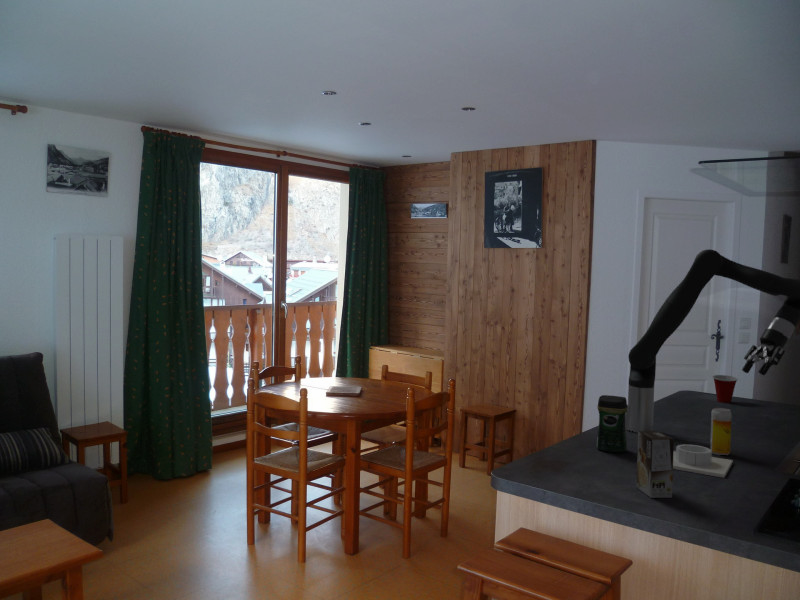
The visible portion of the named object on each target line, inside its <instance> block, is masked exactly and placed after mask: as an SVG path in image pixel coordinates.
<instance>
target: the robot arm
mask: <svg viewBox="0 0 800 600" xmlns="http://www.w3.org/2000/svg"><path fill="white" fill-rule="evenodd" d="M714 276H718V277H723V278H727V279H729V280H732V281H735V282H738V283H740V284H742V285H745V286H747V287H749V288H751V289H754V290H757V291H760V292H763V293H765V294H768V295H771V296H774V297H775V296H776V297H777V296H785V299H784V301H783V303H782V305H781V307H780V308H779V309H778V311H777V312H776V314H775V315H774V317H773V319H772V320H771V321H770V322H769V323H768V324H767V326H766V328H765V329H764V331H763V333H762V334H761V336H760V338H759V341H760V343H759V345H758V346H756V345H755V344H752V346H751V347H750V348H749V350H748V351H747V353H746V354H745V355H744V358H743V360H745V361H746V362H745V364H744V366H743V367H742V369H741V370H742V372H744V373H745V374H749V373H750V372H751V369H752V368H753V366H754V365H755V364H756V363H758V362H761V361H762V360H764V362H763V363H762V365H761V366H760V368H759V370H758V373H759V374H760V375H761V376H765V375H766V374H767V373H768V371H769V370H770V368H771V367H773V366H777V365H779V363H780V360H781V359H782V358H783V356H784V354H785V351H786V350H784V348H785V346H786V344H787V343H788V341H789V340H790V338H791V336H792V334H793V332H794V330H795V328H796V327H797V325H798V323H799V322H800V279H796V278H795V279H794V278H791V277H782V276H781V275H777V274H775V273H771V272H768V271H766V270H763V269H759V268H756V267H752V266H748V265H745V264H741V263H739V262H736V261H734V260H731V259H729V258H727V257H726V256H724V255H721V254H720V253H719V252H718V251H717V250H714V249H709V248H708V249H704V250H702V251H700V252H699V253H697V254H696V256H695V258H694V260H693V263H692V265H691V266H690V268H689V270H688V272H687V273H686V275H685V277H684V278H683V280H681V282H680V283H679V284H678V285H677V286H676V287H675V288H674V289H673V290H672V292H671V293H670V294H669V295H668V297H666V298H665V301H664V302H663V303H662V304H661V306H660V308H659V309H658V311H657V313H656V314H655V316H654V318H653V319H652V322H651V323H650V325H649V327H648V329H646V332H645V333H644V334H643V335H642V337H641V338H640V339H639V340H638V341H637V343H636V344H635V345H634V346H633V347H632V348H630V351H629V353H628V355H627V358H628V362H629V366H630V367H629V376H628V388H627V389H628V391H627V392H628V393H627V394H628V395H627V412H626V414H625V431H629V430H630V432H632V431H633V433H636V434H638V431H654V410H655V409H654V404H655V381H656V369H657V368H656V367H657V355H658V353H659V351H660V350H661V348H662V347H663V345H664V343H665V342H666V341H667V340H668V339H669V338H670V336H672V335H673V334H674V333H675V331H676V330H677V329H678V328H679V327H680V326H681V325H682V323H683V322H684V320H685V319H686V318H687V316H688V315H689V313H690V312H691V311H692V309H693V307H694V305H695V304H696V302H697V300H698V298H699V296H700V294H701V292H702V291H703V290H704V288H705V287H706V286H707V284H708V283H709V282H710V281H711V280H712V279H713V277H714ZM775 358H776V359H775Z"/></svg>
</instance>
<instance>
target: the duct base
mask: <svg viewBox="0 0 800 600" xmlns="http://www.w3.org/2000/svg"><path fill="white" fill-rule="evenodd" d="M675 447H676V449H675V450H674V452H673V470H678V471H682V472H689V473H695V474H700V475H707V476H712V477H717V478H723V479H724V478H725V477H726V475H727V474H728V472H729V471H730V468H732V465H733V464H732V463H733V459H726V458H720V457H716V456H715V457H714V456H713V453H712V450H710V447H705V446H702V445H698V444H697V445H696V444H677V446H675Z"/></svg>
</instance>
